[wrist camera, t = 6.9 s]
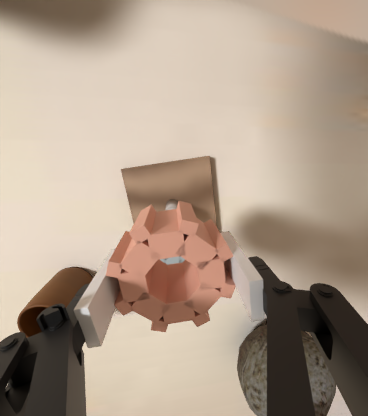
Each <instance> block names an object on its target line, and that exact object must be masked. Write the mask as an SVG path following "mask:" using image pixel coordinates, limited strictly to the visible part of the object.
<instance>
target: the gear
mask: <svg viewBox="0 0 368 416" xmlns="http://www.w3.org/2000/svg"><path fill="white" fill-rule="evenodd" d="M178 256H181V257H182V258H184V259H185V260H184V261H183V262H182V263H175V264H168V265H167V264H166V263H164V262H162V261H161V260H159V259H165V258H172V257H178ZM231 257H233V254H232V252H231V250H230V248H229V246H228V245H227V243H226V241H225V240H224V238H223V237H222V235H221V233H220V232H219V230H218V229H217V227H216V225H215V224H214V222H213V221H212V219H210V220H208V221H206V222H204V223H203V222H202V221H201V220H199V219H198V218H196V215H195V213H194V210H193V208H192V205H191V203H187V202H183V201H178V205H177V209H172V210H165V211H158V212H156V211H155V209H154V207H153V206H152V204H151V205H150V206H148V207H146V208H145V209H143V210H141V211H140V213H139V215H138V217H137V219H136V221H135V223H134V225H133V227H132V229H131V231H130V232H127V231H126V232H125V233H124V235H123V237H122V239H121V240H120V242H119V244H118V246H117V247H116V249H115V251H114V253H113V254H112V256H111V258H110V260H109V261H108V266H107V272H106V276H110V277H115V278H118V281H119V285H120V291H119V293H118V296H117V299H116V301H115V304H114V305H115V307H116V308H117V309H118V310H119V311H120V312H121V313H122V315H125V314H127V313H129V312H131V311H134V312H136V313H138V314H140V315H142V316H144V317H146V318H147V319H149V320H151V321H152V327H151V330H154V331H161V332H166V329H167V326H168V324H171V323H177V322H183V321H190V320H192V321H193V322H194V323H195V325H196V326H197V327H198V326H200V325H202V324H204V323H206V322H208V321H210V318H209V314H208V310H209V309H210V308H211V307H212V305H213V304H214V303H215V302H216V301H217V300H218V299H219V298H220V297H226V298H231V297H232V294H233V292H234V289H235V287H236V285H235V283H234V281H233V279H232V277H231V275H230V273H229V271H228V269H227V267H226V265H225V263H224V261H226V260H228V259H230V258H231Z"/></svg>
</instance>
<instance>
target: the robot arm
mask: <svg viewBox="0 0 368 416" xmlns="http://www.w3.org/2000/svg"><path fill="white" fill-rule="evenodd" d="M221 235H222V237H223V238H224V240H225V241H226V243H227V245H228V246H229V248H230V250H231V252H232V254H233V257H231V258H230V259H228V260H226V261H224V263H225V265H226V267H227V269H228V271H229V273H230V275H231V277H232V279H233V281H234V283H235V285H236V289H237V291H238V293H239V296H240V298H241V300H242V302H243V304H244V306H245V309H246V311H247V313H248V315H249V317H250V319H251V321H257V320H263V319H264V312H265V314H266V316H267V416H316V415H315V410H314V404H313V398H312V392H311V386H310V381H309V375H308V369H307V363H306V358H305V352H304V346H303V340H302V335H301V331H306V332H310V334H311V336H312V338H313V340H314V342H315V344H316V346H317V347H318V349H319V351H320V353H321V355H322V357H323V359H324V361H325V363H326V365H327V367H328V369H329V371H330V373H331V375H332V377H333V379H334V381H335V383H336V385H337V387H338V389H339V391H340V393H341V395H342V397H343V398H344V400H345V402H346V404H347V406H348V408H349V410H350V412H351V414H352V416H368V324H367V323H366V322H365V321H364V320H363V318H362V317H361V316H360V315H359V314H358V313H357V311H356V310H355V309H354V308H353V307H352V306H351V304H350V303H349V302H348V301H347V300H346V299H345V297H344V296H343V295H342V294H341V293H340V292H339V291H338V290H337V289H336V288H334V287H332V286H330V285H327V284H321V283H317V284H313V285H311V287H310V291H306V290H296V289H293V288H292V287H291V286H290V285H289V284H287V283H285V282H282V281H280V280H279V279H278V278H277V276H276V275H275V274H274V273H273V272H272V270H271V269H270V268H269V267H268V266H267V265H266V263H265V262H264V261H263V260H262V259H260V258H259V257H257V256H256V257H250V258H248V257H247V256H246V255H245V253H244V252H243V250H242V249H241V248H240V246H239V245H238V243H237V242H236V241H235V239H234V238H233V236H232V235H231V233H230V232H229V231H227V232H221ZM114 251H115V249H112V250H111V251H110V252H109V254H108V256H107V257H106V259H105V260H104V262H103V264H102V265H101V267H100V268H99V270H98V272H97V273H96V275H95V276H94V278H93V280H92V281H91V283H90V284H85V285H84V286H82V287H81V288H80V289H79V290H78V291H77V293H76V294H75V296H74V297H73V299H72V301H71V302H70V303H69V305H68V306H67V308H66V307H65V305H64V304H55V305H52V306H50V307H48V308H46V309H45V310H44V311H42V312H41V313H40V314H39V315H38V317H37V319H36V320H37V322H38V324H39V327H40V329H41V331H42V332H41V333H38V334H36V335H33V336H31V337H28V338H27V337H26V335H25V333H23V332H19V333H15V334H13V335H10V336H8V337H7V338H5V339H4V340H2V341H1V342H0V416H86V397H85V372H84V353H83V350H82V346H83V344H84V342H86V344H87V347H88V348H92V347H98V346H101V345H102V343H103V340H104V337H105V334H106V332H107V329H108V326H109V324H110V321H111V318H112V315H113V313H114V310H115V305H114V304H115V301H116V299H117V296H118V293H119V291H120V285H119V281H118V278H115V277H110V276H106V272H107V266H108V261H109V260H110V258H111V256H112V254H113V253H114ZM7 384H8V385H7ZM6 386H7V387H6Z"/></svg>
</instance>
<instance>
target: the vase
mask: <svg viewBox="0 0 368 416" xmlns="http://www.w3.org/2000/svg"><path fill="white" fill-rule="evenodd" d="M301 335H302V340H303V346H304V352H305V358H306V363H307V369H308V375H309V381H310V386H311V392H312V398H313V404H314V410H315V415H316V416H327V413H328V411H329V409H330V406H331V404H332V401H333V398H334V396H335V392H336V383H335V381H334V379H333V377H332V375H331V373H330V371H329V369H328V367H327V365H326V363H325V361H324V359H323V357H322V355H321V353H320V351H319V349H318V347H317V346H316V344H315V342H314V340H313V338H312V337H311V336H309V335H308V334H307V333H306V332H305V331H301ZM237 371H238V376H239V380H240V384H241V388H242V390H243V393H244V396H245V398H246V401H247V403H248V405H249V407H250V409H251V410H252V411H253V412H254V413H255V414H256V415H257V416H267V324H266V325H262V326H259V327H258V328H256V329H255V330H254V331H253V332H251V333H250V334H249V335H248V336H247V337H246V338H245V340H244V341H243V343H242V344H241V346H240V349H239V356H238V364H237Z"/></svg>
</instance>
